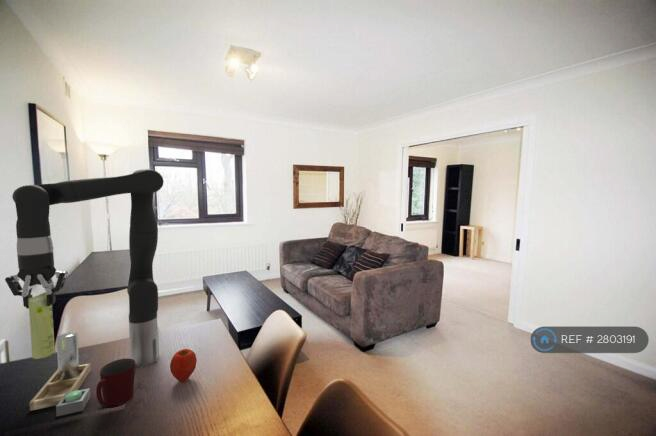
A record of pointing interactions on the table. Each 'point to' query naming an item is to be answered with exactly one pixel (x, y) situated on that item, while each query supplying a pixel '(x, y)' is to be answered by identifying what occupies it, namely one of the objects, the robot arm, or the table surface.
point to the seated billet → (68, 356)
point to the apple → (183, 364)
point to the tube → (41, 327)
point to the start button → (74, 396)
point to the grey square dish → (72, 404)
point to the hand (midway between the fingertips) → (40, 306)
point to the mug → (116, 382)
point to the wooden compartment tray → (58, 389)
